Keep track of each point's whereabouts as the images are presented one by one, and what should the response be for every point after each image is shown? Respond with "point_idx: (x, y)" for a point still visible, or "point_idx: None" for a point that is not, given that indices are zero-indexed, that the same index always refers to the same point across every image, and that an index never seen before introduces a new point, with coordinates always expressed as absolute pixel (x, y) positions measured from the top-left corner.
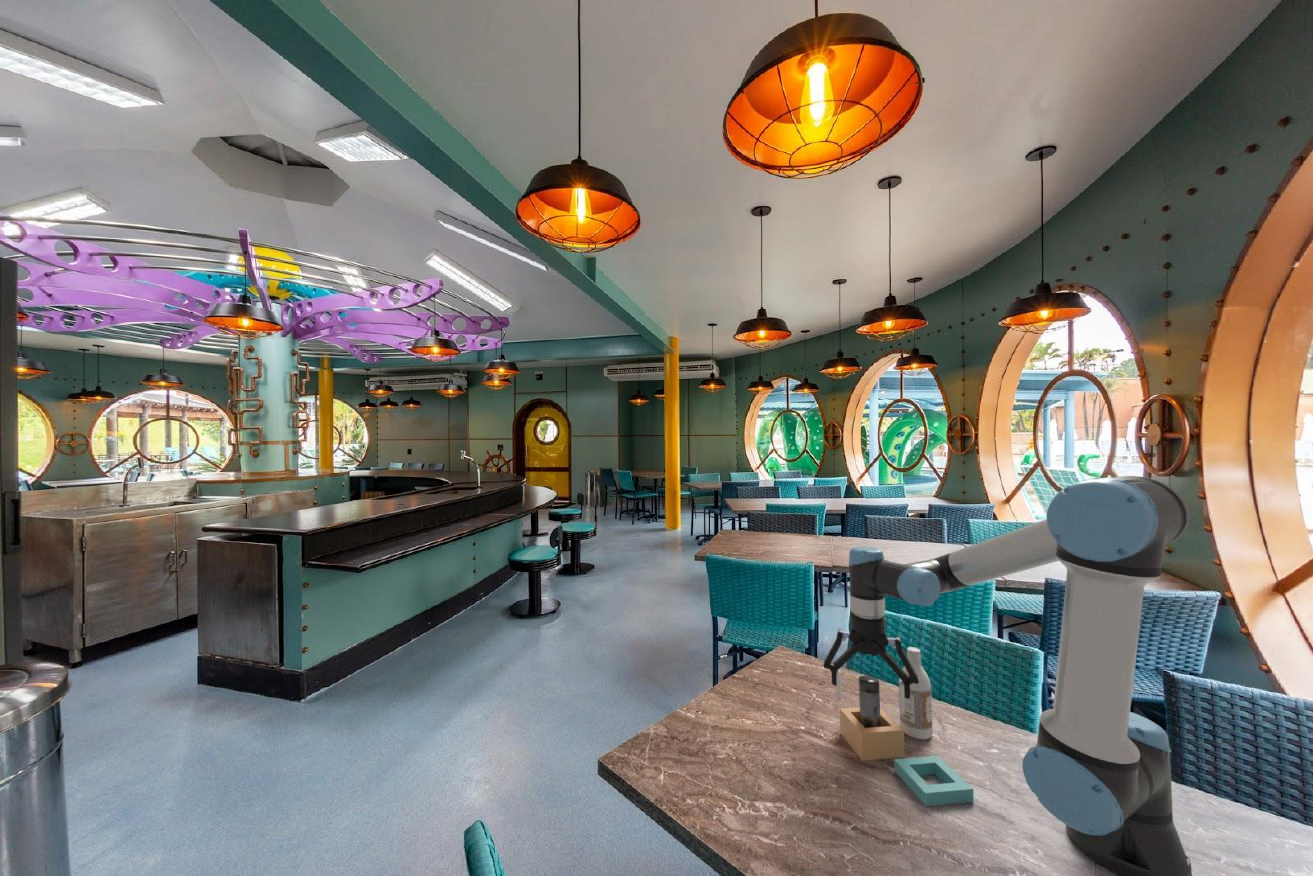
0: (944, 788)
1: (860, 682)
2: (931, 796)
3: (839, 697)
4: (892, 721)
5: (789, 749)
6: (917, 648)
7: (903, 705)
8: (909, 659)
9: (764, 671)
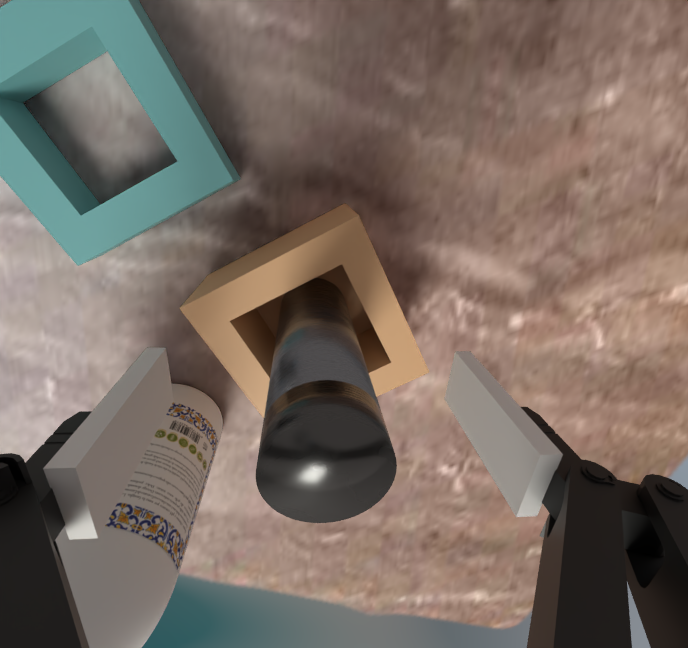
0: (20, 21)
1: (386, 435)
2: None
3: (468, 362)
4: (227, 355)
5: (580, 180)
6: None
7: (133, 373)
8: None
9: None
